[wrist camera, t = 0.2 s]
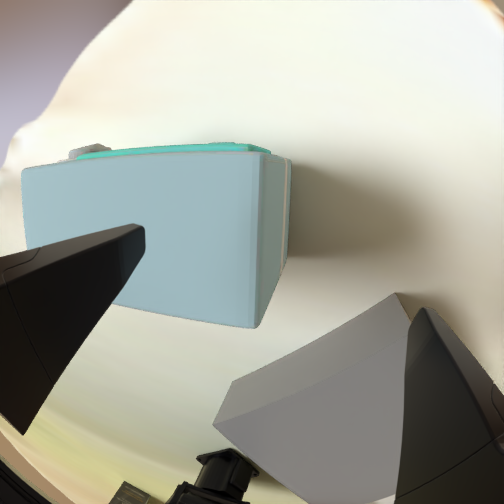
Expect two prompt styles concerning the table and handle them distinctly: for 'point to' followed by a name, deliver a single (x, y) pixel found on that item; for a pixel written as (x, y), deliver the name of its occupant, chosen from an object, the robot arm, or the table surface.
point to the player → (328, 411)
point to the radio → (175, 222)
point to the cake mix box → (129, 495)
